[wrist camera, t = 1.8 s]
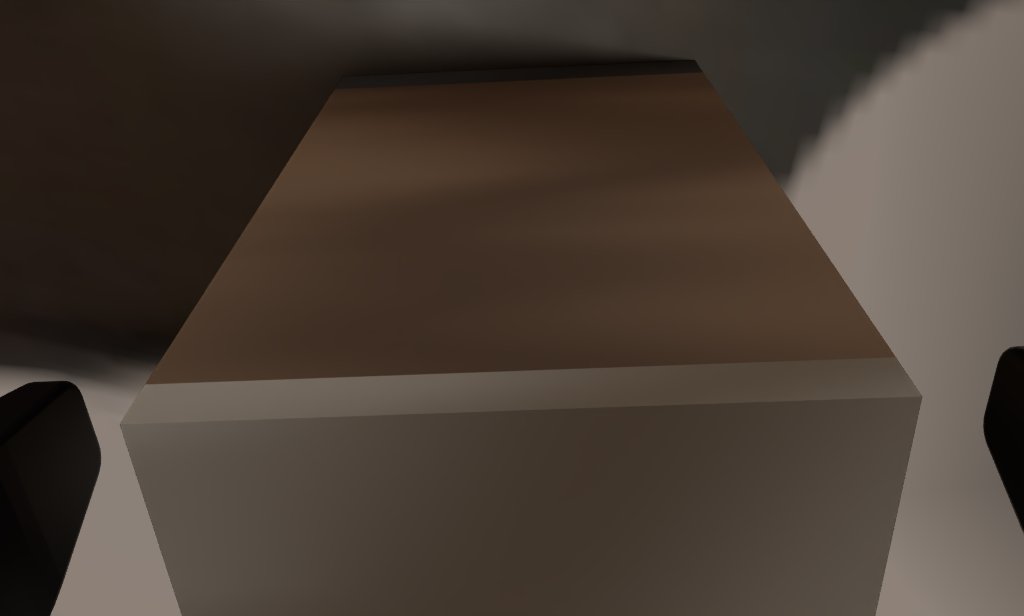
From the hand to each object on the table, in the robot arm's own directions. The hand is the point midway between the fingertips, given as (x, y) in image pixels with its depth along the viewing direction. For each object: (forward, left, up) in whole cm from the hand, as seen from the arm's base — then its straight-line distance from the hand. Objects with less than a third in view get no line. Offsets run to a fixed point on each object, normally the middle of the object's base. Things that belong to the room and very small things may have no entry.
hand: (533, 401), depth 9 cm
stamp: (0, 0, -4) cm, 4 cm away
